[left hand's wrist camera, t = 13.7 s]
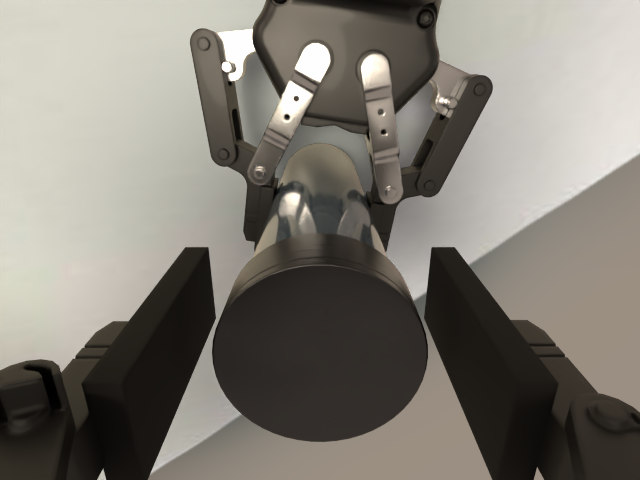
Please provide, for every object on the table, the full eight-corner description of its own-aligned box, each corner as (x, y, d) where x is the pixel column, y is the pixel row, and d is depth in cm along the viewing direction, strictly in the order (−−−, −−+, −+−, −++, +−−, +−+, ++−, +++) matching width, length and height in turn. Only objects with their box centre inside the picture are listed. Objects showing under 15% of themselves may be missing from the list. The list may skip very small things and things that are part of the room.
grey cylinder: (305, 129, 27) (281, 227, 10) (370, 166, 28) (450, 316, 11) (270, 193, 28) (197, 373, 11) (333, 227, 29) (351, 440, 12)
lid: (190, 292, 12) (166, 332, 10) (352, 195, 11) (358, 221, 9) (294, 414, 14) (290, 469, 12) (443, 341, 13) (464, 388, 11)
